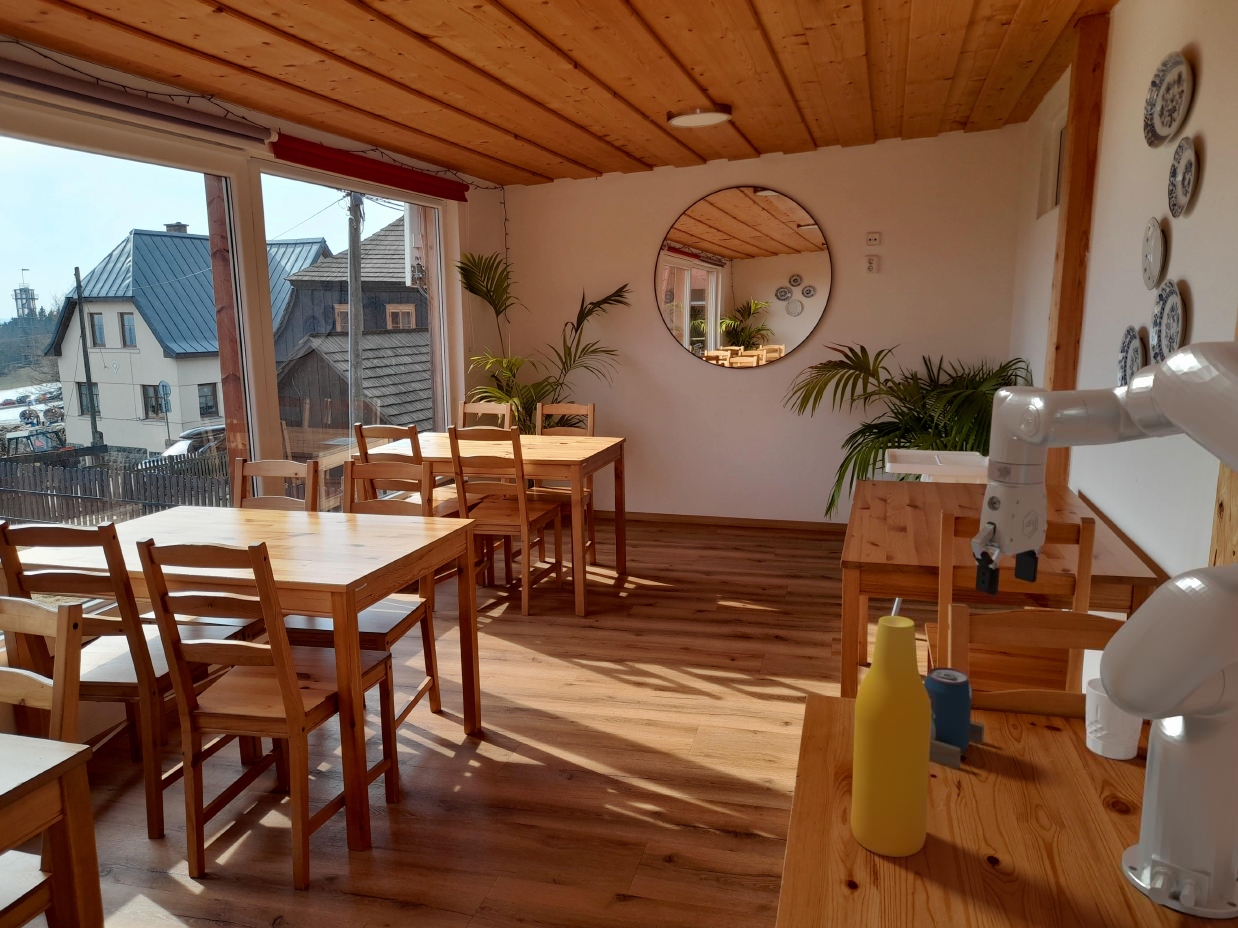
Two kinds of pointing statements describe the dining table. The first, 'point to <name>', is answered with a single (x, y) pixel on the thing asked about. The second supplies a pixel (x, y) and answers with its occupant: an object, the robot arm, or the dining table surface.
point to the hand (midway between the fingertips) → (1006, 585)
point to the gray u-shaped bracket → (950, 753)
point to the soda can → (949, 706)
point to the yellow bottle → (891, 746)
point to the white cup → (1109, 725)
